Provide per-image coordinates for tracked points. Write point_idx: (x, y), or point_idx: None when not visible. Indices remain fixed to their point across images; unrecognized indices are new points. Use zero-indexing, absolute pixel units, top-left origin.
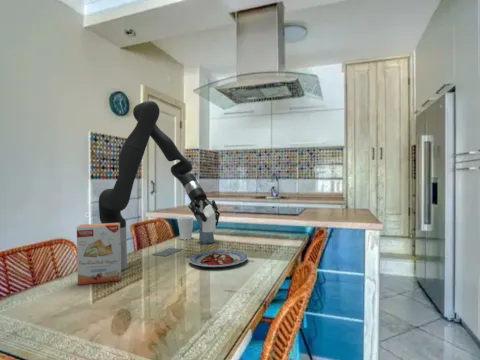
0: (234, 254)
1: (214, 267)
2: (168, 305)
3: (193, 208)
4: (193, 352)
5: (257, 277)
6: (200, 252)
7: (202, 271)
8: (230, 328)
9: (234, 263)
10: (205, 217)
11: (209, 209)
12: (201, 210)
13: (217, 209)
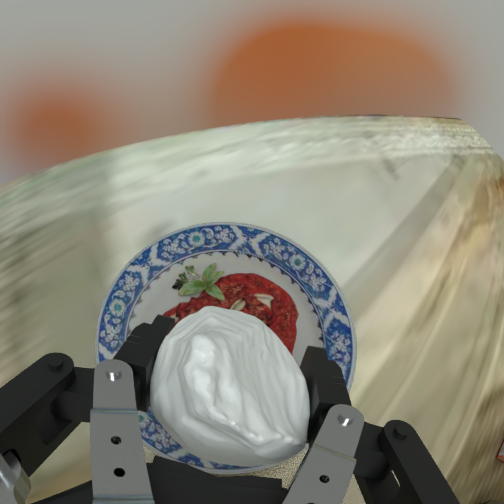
0: (129, 321)
1: (298, 305)
2: (488, 224)
3: (432, 485)
4: (484, 142)
5: (291, 154)
6: (207, 469)
7: (355, 310)
8: (446, 128)
9: (265, 230)
10: (322, 355)
11: (246, 357)
12: (342, 429)
13: (60, 354)
